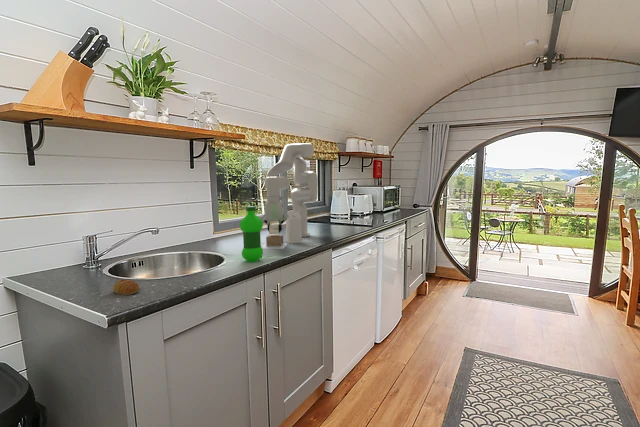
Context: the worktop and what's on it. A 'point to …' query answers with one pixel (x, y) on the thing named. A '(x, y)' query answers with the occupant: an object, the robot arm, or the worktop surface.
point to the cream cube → (274, 229)
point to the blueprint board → (274, 246)
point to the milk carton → (293, 227)
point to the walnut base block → (274, 240)
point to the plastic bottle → (251, 235)
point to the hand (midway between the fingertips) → (274, 231)
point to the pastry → (126, 287)
